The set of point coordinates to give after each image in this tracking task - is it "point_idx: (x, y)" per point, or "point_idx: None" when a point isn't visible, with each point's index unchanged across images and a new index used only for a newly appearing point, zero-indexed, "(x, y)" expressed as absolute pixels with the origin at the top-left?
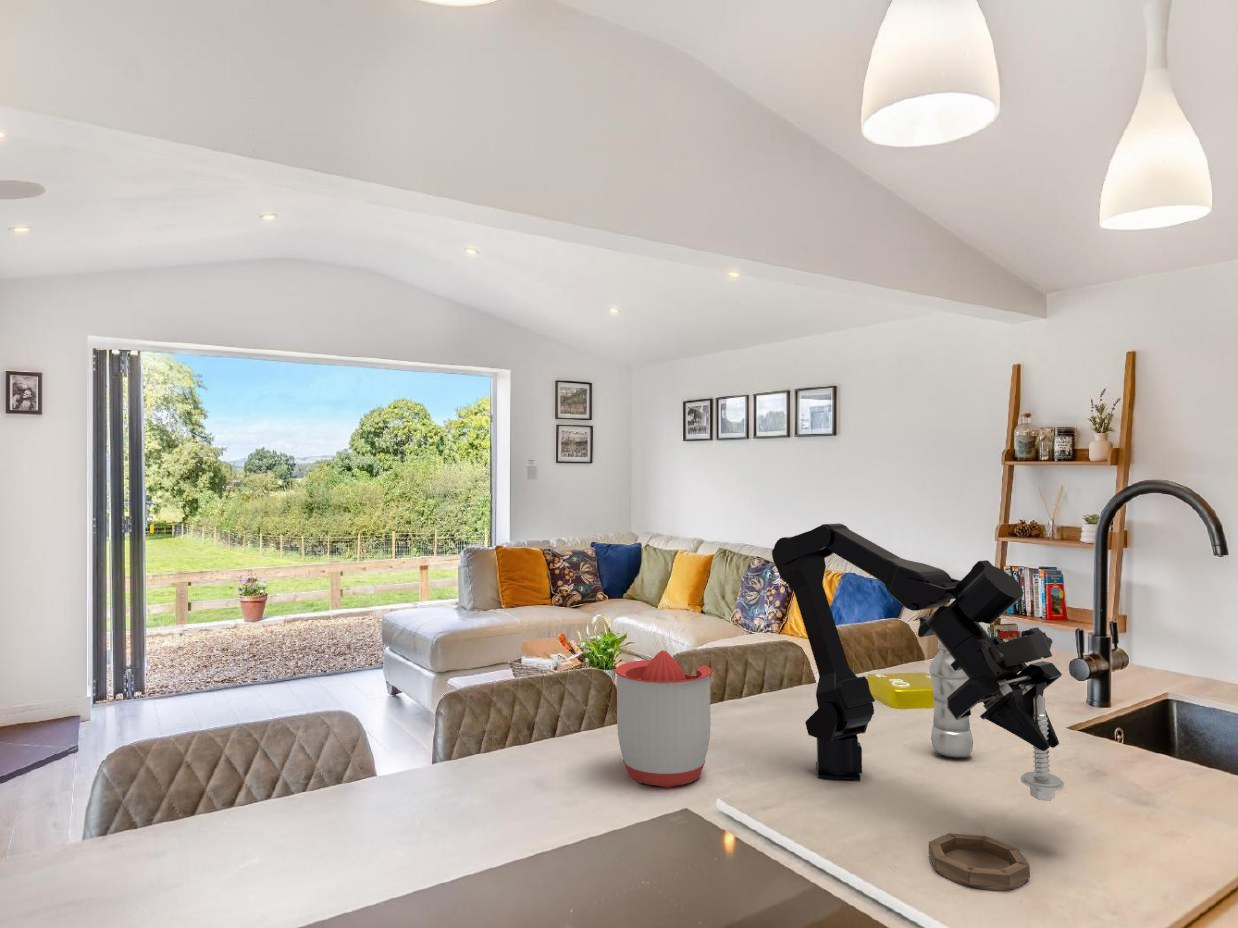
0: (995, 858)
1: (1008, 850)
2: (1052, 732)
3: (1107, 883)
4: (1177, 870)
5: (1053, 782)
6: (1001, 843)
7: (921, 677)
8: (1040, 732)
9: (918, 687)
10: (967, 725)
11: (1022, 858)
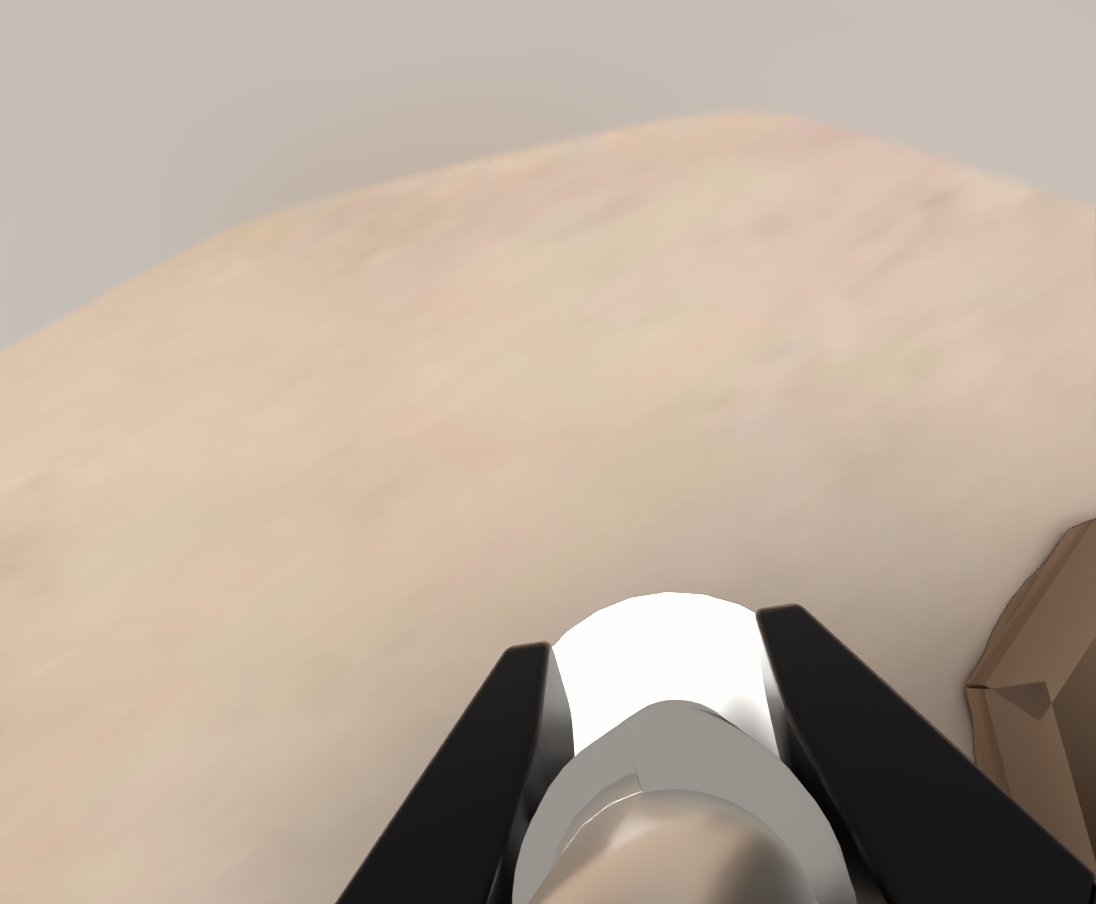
0: (1079, 761)
1: (1048, 707)
2: (508, 735)
3: (722, 368)
4: (337, 330)
5: (684, 644)
6: (1027, 783)
7: None
8: (834, 731)
9: None
10: None
11: (1068, 588)
